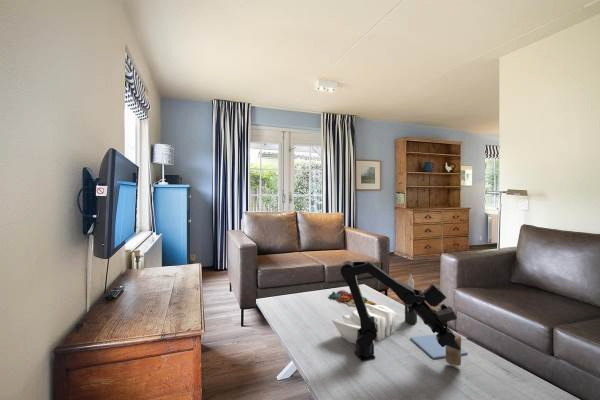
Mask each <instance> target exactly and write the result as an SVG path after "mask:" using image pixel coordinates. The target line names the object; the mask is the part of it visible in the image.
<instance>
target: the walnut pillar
mask: <svg viewBox="0 0 600 400" xmlns="http://www.w3.org/2000/svg"><path fill="white" fill-rule="evenodd" d="M453 333H454V335H455V336H456V337H455V341H456V342H457V344H458V345H459V347H460V348H462V336H461V335H460V334H457V333H455V332H453ZM445 362H446V363H447V364H449V365H451V366H453V367H457V366H458V367H459V366H461V365H462V355H461V349H459V350H457V349H455V348H452V347H450V346H447V345H446V357H445Z"/></svg>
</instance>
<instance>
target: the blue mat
mask: <svg viewBox="0 0 600 400" xmlns="http://www.w3.org/2000/svg"><path fill="white" fill-rule="evenodd" d="M437 334H438V333H433V334H427V335H419V336H411V337H410V340H411V341H412V342H413V343H414V344H416V346H417V347H419V348H420V349H421V350H422V352H424V353H425V354H426V355H428V356H429V357H430V358H431V359H432V360H437V359H443V358H444V359H446V346H444V347H442V346H441V345H440V344H439V343H438V341H437V339H436V335H437ZM468 354H469V353H468V352H467V350H465V349H464V348H462V347H461V356H466V355H467V356H468Z"/></svg>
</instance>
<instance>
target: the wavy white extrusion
mask: <svg viewBox="0 0 600 400" xmlns="http://www.w3.org/2000/svg"><path fill="white" fill-rule="evenodd" d="M365 305H366V308H367V311H368V313H369V315H370V316H371V317H372V316H374V318H375V322H376V323H377V328H378V332H377V337H376V339H375V340H376V341H378V342H380V341H381V340H384V339H386V337H389V336H390V335H393V334H394V333H395V331H396V326H397V325H396V324H397V317H398V315H397V313H396V311H394V310H393V309H392V308H389V307H387V306H386V305H383V304H382V305H381V304H376V305H370V304H367V303H365ZM341 317H342V320H343V321H342V320H340V319H337V318H334V319H333V320H332V319H331V323H333V325H334V327H335V328H336V330H337V331H338V333H339V334H340V337H341V338H343V340H345V341H347V342H348V343H352V344H354V345H356V340H357V332H358V330H359V329H360V328H361V323H360V317H359V314H358V311H357V310H352V311H351V316H350V315H349V314H345V315H342V316H341ZM375 340H374V341H373V344H374V345H375V344H376V342H375Z"/></svg>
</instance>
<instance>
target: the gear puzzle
mask: <svg viewBox="0 0 600 400" xmlns="http://www.w3.org/2000/svg"><path fill="white" fill-rule="evenodd" d="M327 298H328V299H329V300H330V301H336V302H337V303H338V304H345V305H347V307H353V308H356V306H355V303H354V300H353V297H352V294H351V292H348V291H347V290H344V289H342V290H341V289H340V290H338V291H334V290H333V291H332V293H331V294H329V296H328V297H327ZM363 299H364V302H365V303H367V304H370V305H377V304H376V303H375V302H373V301H372V300H371V301H370V300H369V299H368V298H367V297H365V296H363Z"/></svg>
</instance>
